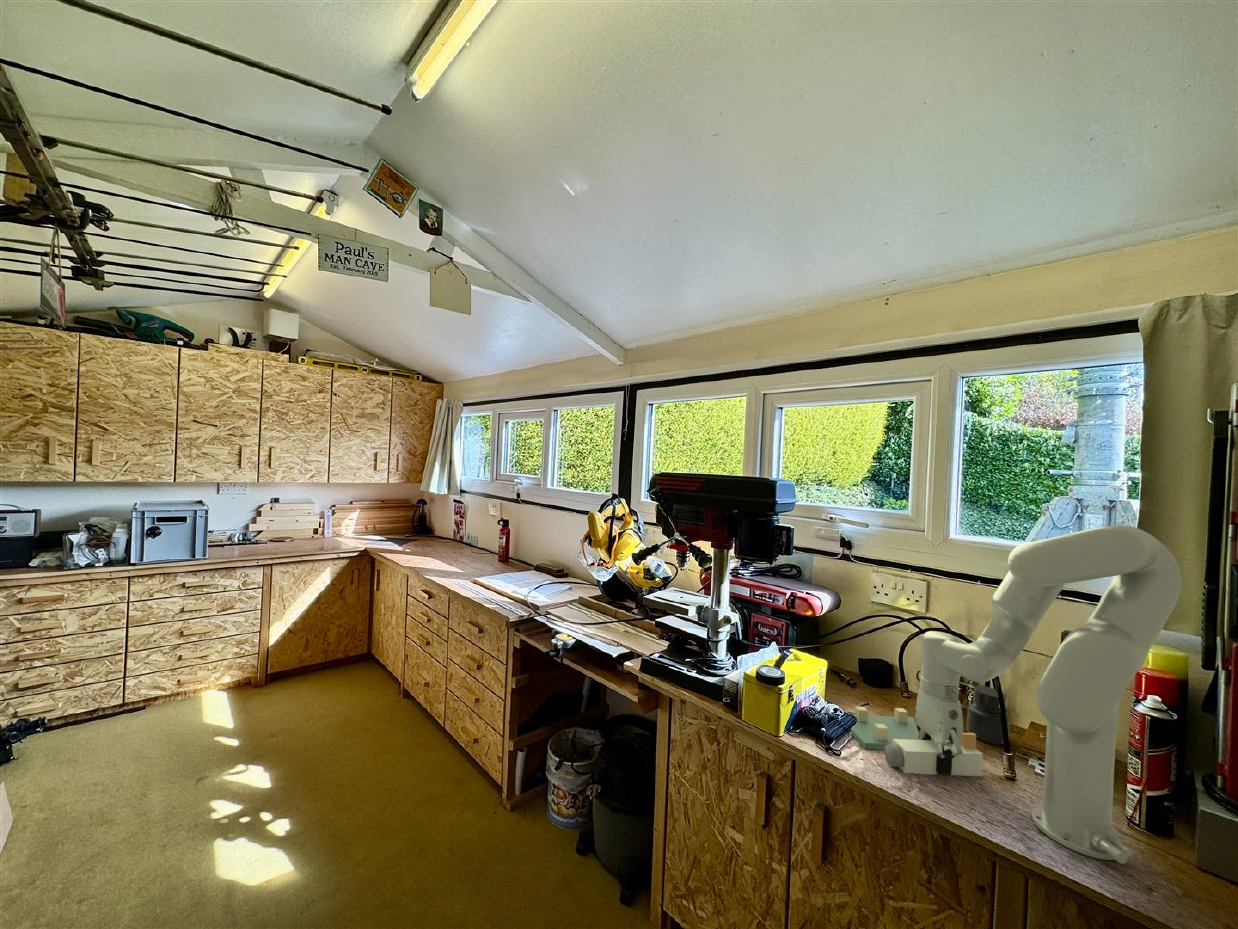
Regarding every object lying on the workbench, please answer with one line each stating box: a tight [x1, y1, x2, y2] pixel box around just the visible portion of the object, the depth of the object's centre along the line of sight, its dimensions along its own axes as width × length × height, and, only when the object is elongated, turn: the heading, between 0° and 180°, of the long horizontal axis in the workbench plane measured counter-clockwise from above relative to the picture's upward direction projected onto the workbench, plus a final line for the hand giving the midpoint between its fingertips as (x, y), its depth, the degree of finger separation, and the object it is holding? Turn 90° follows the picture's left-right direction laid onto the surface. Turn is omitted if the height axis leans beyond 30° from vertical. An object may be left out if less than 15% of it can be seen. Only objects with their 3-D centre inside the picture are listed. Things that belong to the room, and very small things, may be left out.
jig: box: [851, 706, 936, 751], centre depth 125 cm, size 14×22×4 cm, turn 93°
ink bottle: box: [966, 685, 1011, 746], centre depth 128 cm, size 10×9×12 cm
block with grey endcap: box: [883, 732, 984, 777], centre depth 112 cm, size 5×20×8 cm, turn 92°
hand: (934, 765), depth 112 cm, fingers closed on block with grey endcap, 5 cm apart
